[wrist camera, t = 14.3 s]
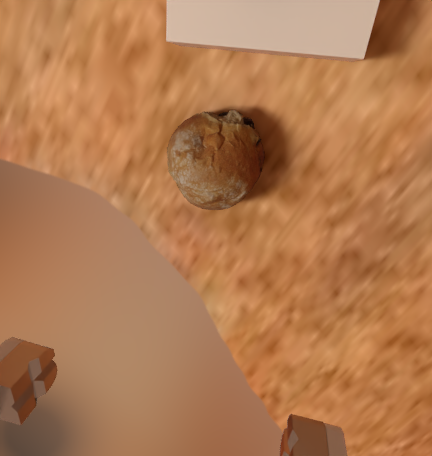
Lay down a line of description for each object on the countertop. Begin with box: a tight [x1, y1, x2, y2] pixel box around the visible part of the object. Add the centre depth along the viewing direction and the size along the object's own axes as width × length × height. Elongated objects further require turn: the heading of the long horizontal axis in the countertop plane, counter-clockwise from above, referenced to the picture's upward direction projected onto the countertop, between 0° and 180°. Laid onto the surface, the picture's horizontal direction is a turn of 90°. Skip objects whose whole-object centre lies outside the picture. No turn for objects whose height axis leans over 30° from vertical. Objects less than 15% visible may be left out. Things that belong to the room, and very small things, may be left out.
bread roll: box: [167, 110, 265, 210], centre depth 31 cm, size 10×10×8 cm
